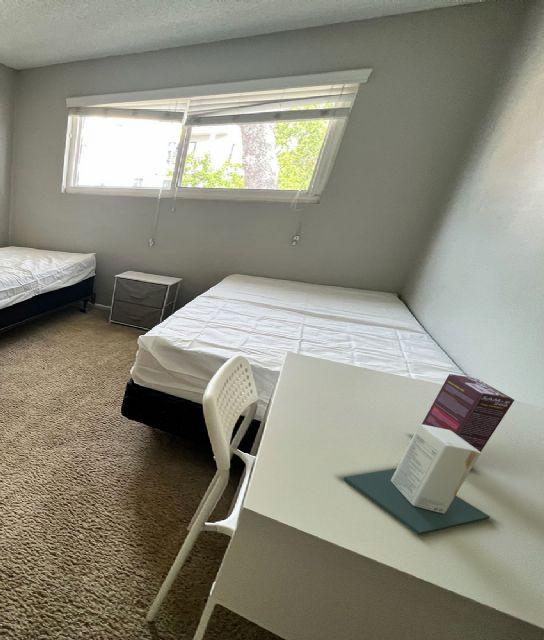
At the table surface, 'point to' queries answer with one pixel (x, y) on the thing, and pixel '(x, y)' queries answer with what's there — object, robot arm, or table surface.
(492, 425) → the supplement box
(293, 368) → the table surface
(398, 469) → the cosmetic box
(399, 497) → the desk mat
